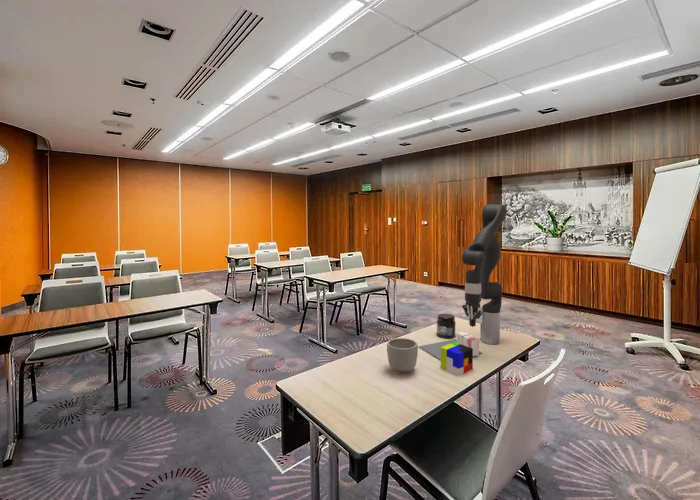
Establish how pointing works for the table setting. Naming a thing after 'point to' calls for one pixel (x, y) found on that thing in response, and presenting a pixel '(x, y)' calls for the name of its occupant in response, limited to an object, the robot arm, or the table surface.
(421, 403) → the table surface
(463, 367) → the puzzle toy
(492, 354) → the table surface
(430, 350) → the mat
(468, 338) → the ink box
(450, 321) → the supplement container
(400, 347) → the planter
